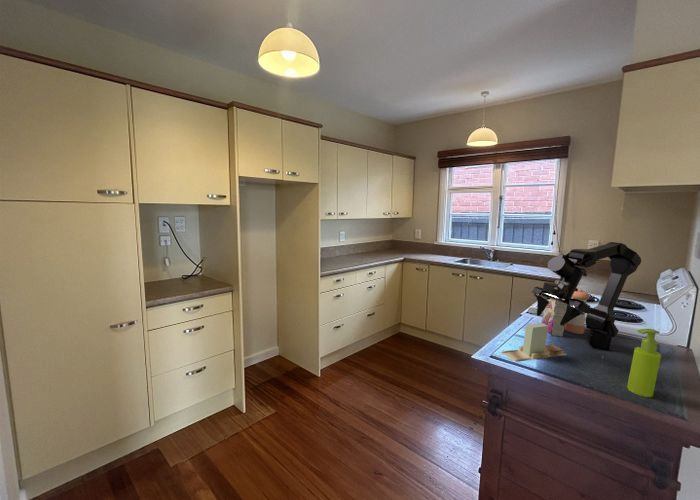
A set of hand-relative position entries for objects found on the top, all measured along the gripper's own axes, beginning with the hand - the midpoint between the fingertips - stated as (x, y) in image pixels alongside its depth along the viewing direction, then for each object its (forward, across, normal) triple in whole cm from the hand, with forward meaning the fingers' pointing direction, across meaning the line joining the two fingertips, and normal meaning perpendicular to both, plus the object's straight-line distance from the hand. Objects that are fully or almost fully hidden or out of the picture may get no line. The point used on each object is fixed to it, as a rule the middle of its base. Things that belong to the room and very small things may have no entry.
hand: (549, 320), depth 114 cm
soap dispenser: (+9, +25, +15) cm, 30 cm away
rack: (+14, -2, +4) cm, 15 cm away
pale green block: (+13, -2, +3) cm, 14 cm away
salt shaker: (-3, -14, +38) cm, 41 cm away
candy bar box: (+2, -16, +28) cm, 33 cm away
